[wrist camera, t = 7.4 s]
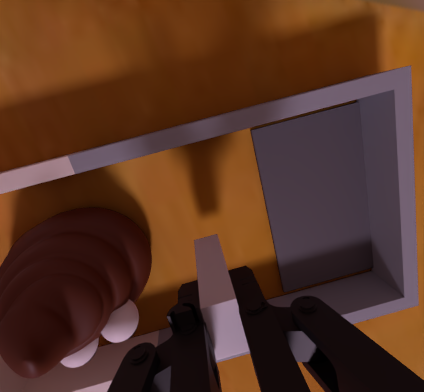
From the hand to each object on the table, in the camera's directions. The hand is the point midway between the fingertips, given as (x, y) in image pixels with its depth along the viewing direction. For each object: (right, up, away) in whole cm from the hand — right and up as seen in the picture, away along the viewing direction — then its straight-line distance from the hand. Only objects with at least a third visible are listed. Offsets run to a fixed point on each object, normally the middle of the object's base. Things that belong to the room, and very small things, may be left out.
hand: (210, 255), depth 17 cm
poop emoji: (-9, -1, +3) cm, 10 cm away
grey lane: (+3, +2, +3) cm, 5 cm away
